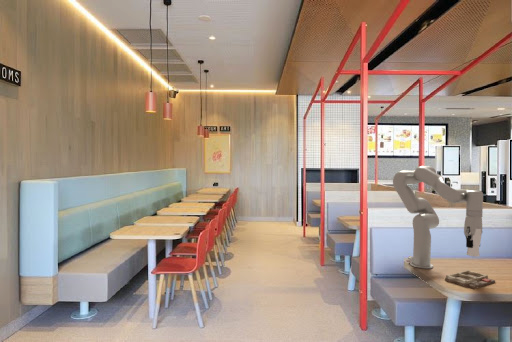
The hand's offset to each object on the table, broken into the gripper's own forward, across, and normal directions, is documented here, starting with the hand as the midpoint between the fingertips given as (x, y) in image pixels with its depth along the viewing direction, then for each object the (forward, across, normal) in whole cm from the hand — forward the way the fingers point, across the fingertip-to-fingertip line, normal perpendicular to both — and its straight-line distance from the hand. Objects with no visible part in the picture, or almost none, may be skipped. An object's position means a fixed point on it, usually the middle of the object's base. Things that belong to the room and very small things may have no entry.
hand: (473, 246), depth 195 cm
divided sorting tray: (+18, +5, +1) cm, 18 cm away
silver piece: (+5, 0, 0) cm, 5 cm away
